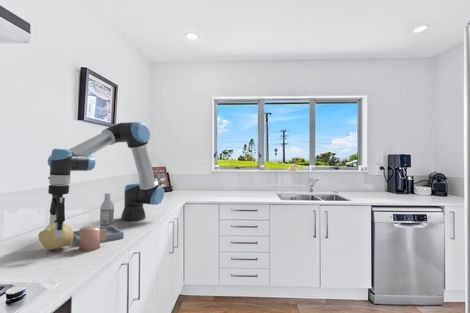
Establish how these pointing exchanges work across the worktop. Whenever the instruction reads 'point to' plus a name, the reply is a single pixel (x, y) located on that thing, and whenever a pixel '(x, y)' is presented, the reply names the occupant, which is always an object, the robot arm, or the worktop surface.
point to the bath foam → (107, 212)
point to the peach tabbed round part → (91, 238)
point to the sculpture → (53, 243)
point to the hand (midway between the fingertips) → (55, 233)
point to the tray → (111, 234)
